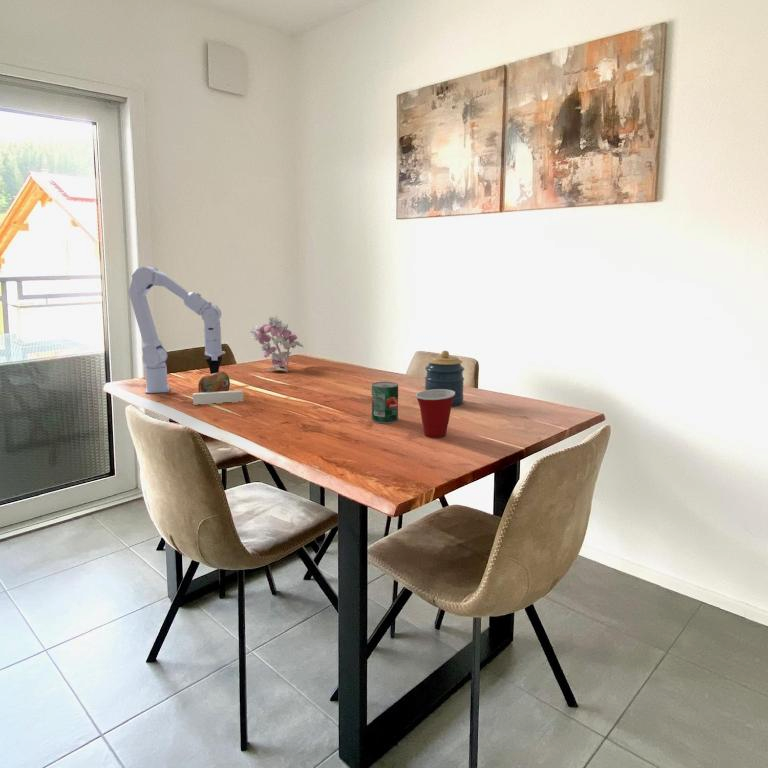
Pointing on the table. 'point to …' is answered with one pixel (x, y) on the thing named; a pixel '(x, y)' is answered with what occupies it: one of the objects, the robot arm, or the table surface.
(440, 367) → the canister
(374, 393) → the canned tomato
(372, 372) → the table surface
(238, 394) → the board
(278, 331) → the flower
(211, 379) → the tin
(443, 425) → the plastic cup
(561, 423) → the table surface
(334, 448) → the table surface
